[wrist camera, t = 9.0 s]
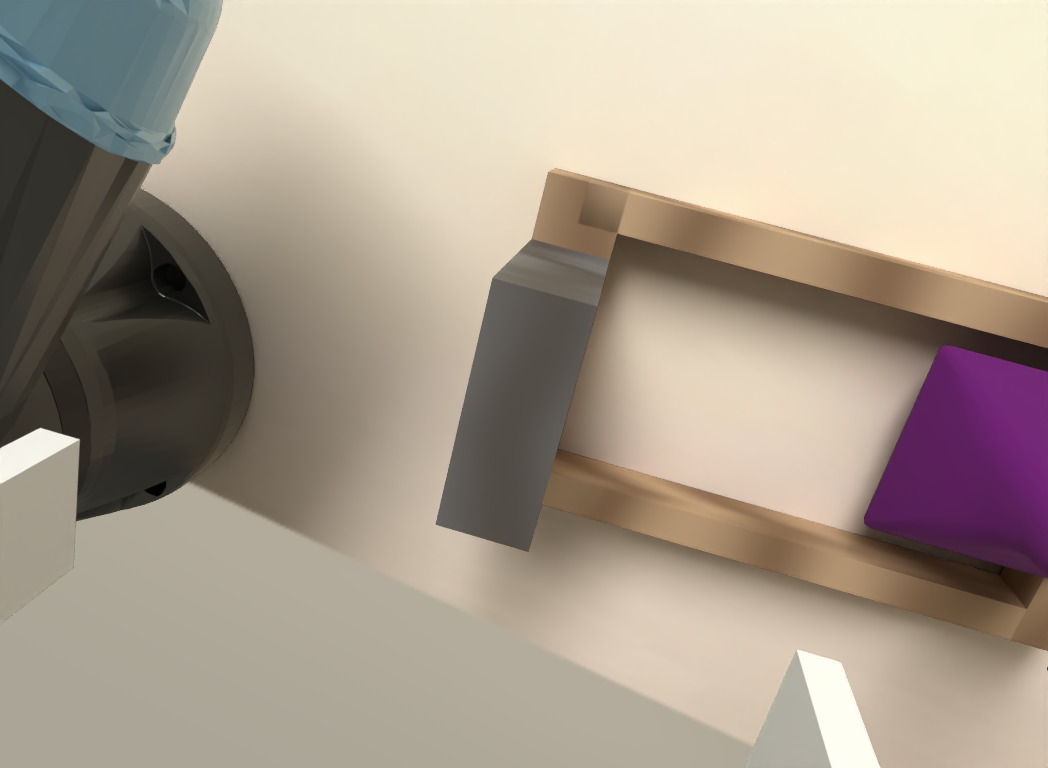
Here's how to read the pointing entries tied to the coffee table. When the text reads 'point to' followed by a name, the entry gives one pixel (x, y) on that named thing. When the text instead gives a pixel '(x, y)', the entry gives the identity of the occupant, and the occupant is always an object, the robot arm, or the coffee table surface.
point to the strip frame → (670, 508)
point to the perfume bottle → (972, 463)
